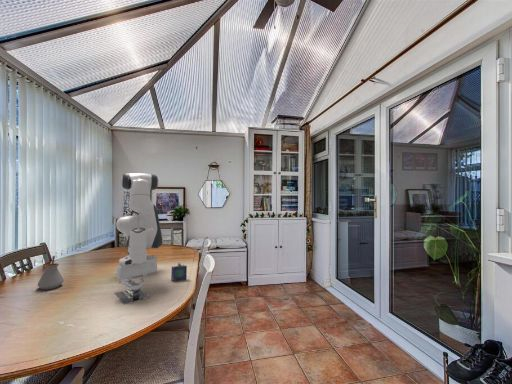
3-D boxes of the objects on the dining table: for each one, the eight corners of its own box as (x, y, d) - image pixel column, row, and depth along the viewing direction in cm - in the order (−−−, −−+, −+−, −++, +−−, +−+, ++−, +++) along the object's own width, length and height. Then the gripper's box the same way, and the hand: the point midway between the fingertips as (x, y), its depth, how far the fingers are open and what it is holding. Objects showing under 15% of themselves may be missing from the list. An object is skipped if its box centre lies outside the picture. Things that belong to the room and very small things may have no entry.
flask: (171, 281, 150) (171, 264, 150) (171, 280, 153) (171, 263, 153) (186, 280, 153) (186, 263, 153) (186, 278, 155) (186, 261, 156)
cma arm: (116, 283, 131) (116, 278, 131) (124, 281, 134) (125, 276, 134) (133, 292, 119) (133, 286, 119) (142, 289, 122) (142, 284, 122)
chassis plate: (114, 294, 129) (114, 293, 129) (137, 289, 137) (137, 287, 137) (124, 306, 116) (124, 304, 116) (149, 299, 124) (149, 297, 124)
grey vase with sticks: (62, 288, 137) (63, 261, 138) (35, 292, 131) (36, 265, 131) (65, 277, 155) (65, 254, 155) (41, 281, 148) (42, 256, 148)
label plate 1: (122, 291, 131) (122, 291, 131) (131, 289, 134) (131, 288, 134) (125, 294, 127) (125, 294, 127) (134, 292, 130) (134, 291, 130)
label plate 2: (126, 295, 126) (126, 294, 126) (135, 293, 129) (135, 292, 129) (129, 298, 122) (129, 298, 122) (138, 296, 125) (138, 295, 125)
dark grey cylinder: (132, 299, 122) (132, 290, 122) (137, 297, 124) (138, 288, 124) (133, 301, 120) (134, 291, 120) (139, 299, 122) (140, 290, 122)
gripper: (154, 253, 140) (154, 277, 140) (115, 260, 126) (115, 286, 126) (159, 255, 136) (159, 280, 136) (119, 263, 121) (119, 290, 121)
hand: (137, 283), depth 131 cm, fingers open, 4 cm apart
